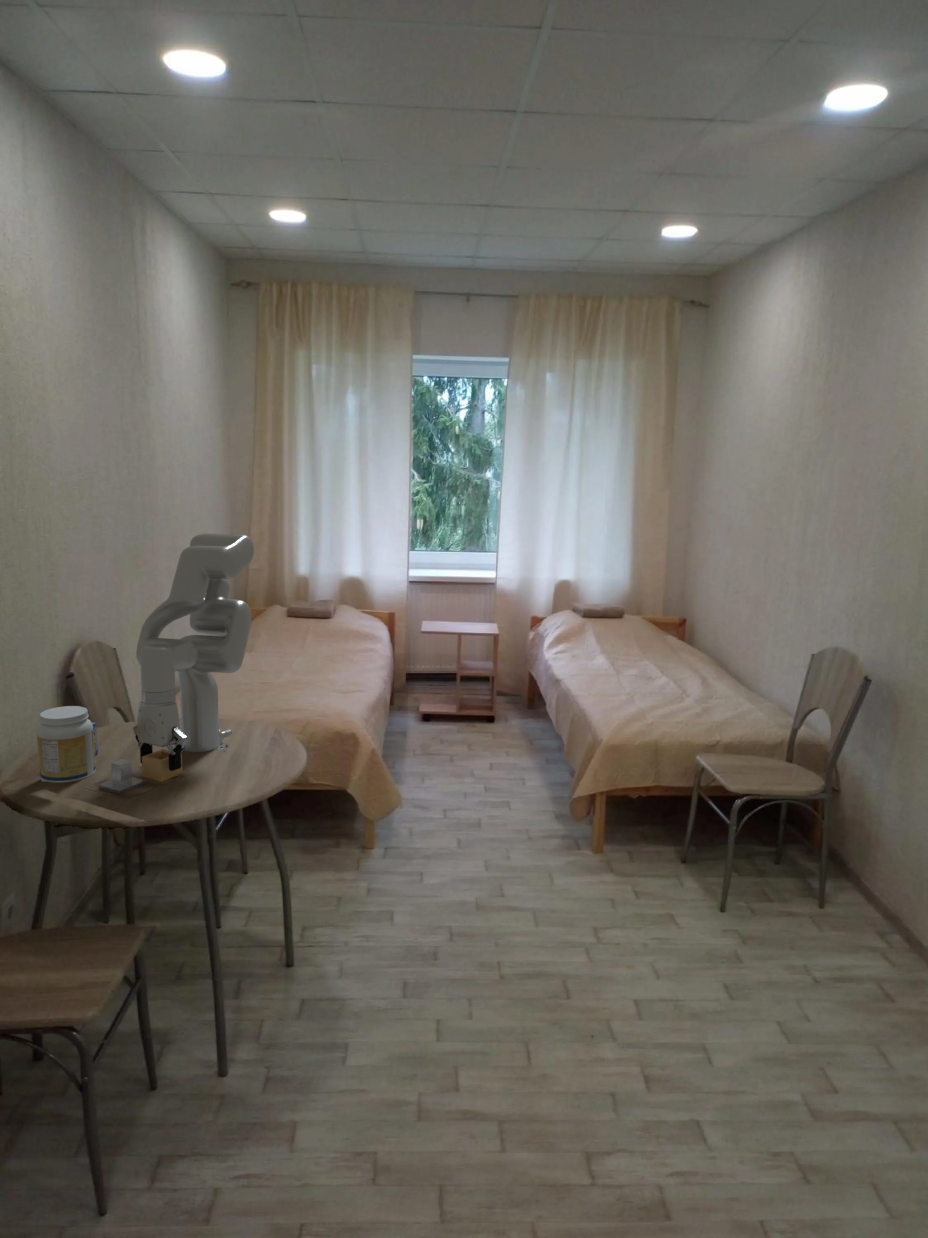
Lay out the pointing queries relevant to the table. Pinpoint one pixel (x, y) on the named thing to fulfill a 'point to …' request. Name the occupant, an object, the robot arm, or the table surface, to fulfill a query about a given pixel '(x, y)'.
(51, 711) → the supplement tub
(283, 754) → the table surface
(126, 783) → the grey stepped block
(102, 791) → the board
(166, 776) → the collar
